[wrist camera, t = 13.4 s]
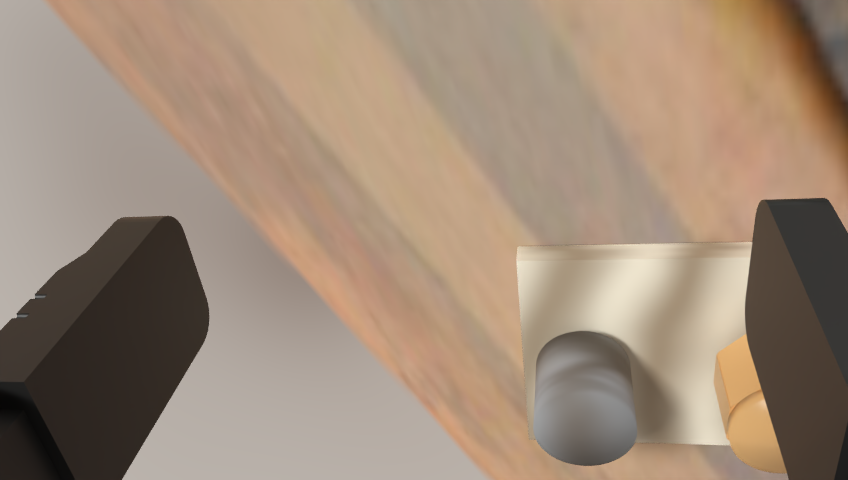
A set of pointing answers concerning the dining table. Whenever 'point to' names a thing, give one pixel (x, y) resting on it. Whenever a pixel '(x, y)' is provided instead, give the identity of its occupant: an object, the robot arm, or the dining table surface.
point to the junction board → (627, 343)
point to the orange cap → (745, 409)
